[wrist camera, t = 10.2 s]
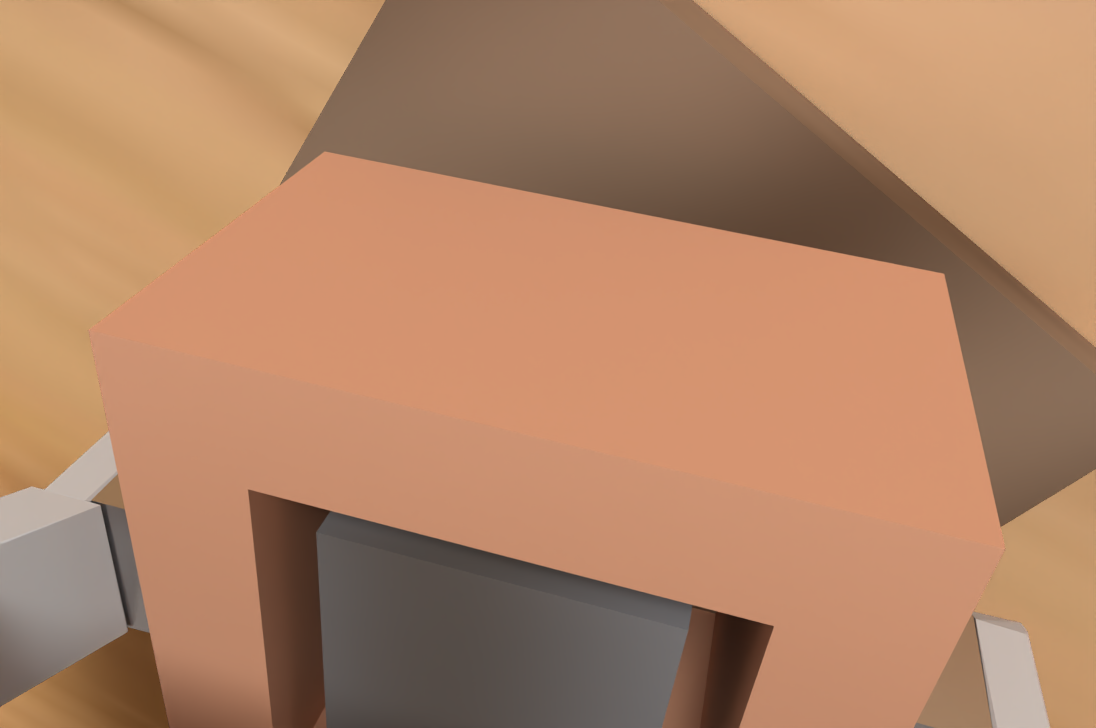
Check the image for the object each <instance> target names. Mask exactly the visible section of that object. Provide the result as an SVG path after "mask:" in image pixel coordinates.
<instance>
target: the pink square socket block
mask: <svg viewBox="0 0 1096 728" xmlns="http://www.w3.org/2000/svg"><path fill="white" fill-rule="evenodd" d="M88 331H89V335H90V340H91V345H92V350H93V355H94V360H95V365H96V370H97V375H98V380H99V385H100V390H101V394H102V399H103V404H104V409H105V414H106V419H107V424H108V429H109V434H110V439H111V444H112V449H113V453H114V458H115V463H116V468H117V473H118V478H119V483H120V488H121V493H122V498H123V503H124V508H125V512H126V517H127V522H128V527H129V532H130V537H131V542H132V547H133V552H134V557H135V562H136V567H137V571H138V576H139V581H140V586H141V591H142V596H143V601H144V606H145V611H146V616H147V621H148V626H149V630H150V635H151V640H152V645H153V650H154V655H155V660H156V665H157V670H158V675H159V680H160V685H161V689H162V694H163V699H164V704H165V709H166V714H167V719H168V724H169V728H327V727H326V708H325V689H324V670H323V651H322V632H321V613H320V594H319V575H318V556H317V538H316V532H317V530H318V529H319V527H320V526H321V524H322V523H323V521H324V520H325V518H326V517H327V515H328V514H329V512H330V511H333V512H337V513H341V514H345V515H349V516H353V517H356V518H360V519H364V520H368V521H372V522H376V523H379V524H383V525H387V526H391V527H395V528H399V529H403V530H406V531H410V532H414V533H418V534H422V535H426V536H429V537H433V538H437V539H441V540H445V541H449V542H453V543H456V544H460V545H464V546H468V547H472V548H476V549H479V550H483V551H487V552H491V553H495V554H499V555H502V556H506V557H510V558H514V559H518V560H522V561H526V562H529V563H533V564H537V565H541V566H545V567H549V568H552V569H556V570H560V571H564V572H568V573H572V574H575V575H579V576H583V577H587V578H591V579H595V580H599V581H602V582H606V583H610V584H614V585H618V586H622V587H625V588H629V589H633V590H637V591H641V592H645V593H649V594H652V595H656V596H660V597H664V598H668V599H672V600H675V601H679V602H683V603H687V604H691V605H695V606H698V607H702V608H706V609H710V610H714V611H716V614H715V613H711V612H708V611H704V610H700V609H696V608H692V611H691V617H690V623H689V630H688V634H687V637H686V641H685V645H684V648H683V652H682V656H681V659H680V663H679V667H678V670H677V674H676V678H675V681H674V685H673V689H672V692H671V696H670V700H669V703H668V707H667V711H666V714H665V718H664V722H663V725H662V728H914V726H915V724H916V722H917V720H918V718H919V716H920V714H921V712H922V710H923V709H924V707H925V705H926V703H927V701H928V699H929V697H930V695H931V693H932V691H933V689H934V687H935V685H936V683H937V681H938V679H939V677H940V675H941V674H942V672H943V670H944V668H945V666H946V664H947V662H948V660H949V658H950V656H951V654H952V652H953V650H954V648H955V646H956V644H957V642H958V640H959V638H960V637H961V635H962V633H963V631H964V629H965V627H966V625H967V623H968V621H969V619H970V617H971V615H972V613H973V611H974V609H975V607H976V605H977V603H978V601H979V600H980V598H981V596H982V594H983V592H984V590H985V588H986V586H987V584H988V582H989V580H990V578H991V576H992V574H993V572H994V570H995V568H996V566H997V564H998V563H999V561H1000V559H1001V557H1002V555H1003V553H1004V551H1005V545H1004V540H1003V536H1002V531H1001V527H1000V522H999V518H998V513H997V509H996V504H995V500H994V495H993V491H992V486H991V482H990V477H989V473H988V468H987V464H986V459H985V455H984V450H983V446H982V441H981V437H980V432H979V428H978V423H977V419H976V414H975V410H974V406H973V401H972V397H971V392H970V388H969V383H968V379H967V374H966V370H965V365H964V361H963V356H962V352H961V347H960V343H959V338H958V334H957V329H956V325H955V320H954V316H953V311H952V307H951V302H950V298H949V293H948V289H947V284H946V280H945V275H944V274H943V273H938V272H933V271H928V270H923V269H918V268H912V267H907V266H902V265H897V264H892V263H887V262H882V261H877V260H872V259H867V258H862V257H857V256H852V255H847V254H842V253H836V252H831V251H826V250H821V249H816V248H811V247H806V246H801V245H796V244H791V243H786V242H781V241H776V240H771V239H766V238H761V237H755V236H750V235H745V234H740V233H735V232H730V231H725V230H720V229H715V228H710V227H705V226H700V225H695V224H690V223H685V222H679V221H674V220H669V219H664V218H659V217H654V216H649V215H644V214H639V213H634V212H629V211H624V210H619V209H614V208H609V207H603V206H598V205H593V204H588V203H583V202H578V201H573V200H568V199H563V198H558V197H553V196H548V195H543V194H538V193H533V192H527V191H522V190H517V189H512V188H507V187H502V186H497V185H492V184H487V183H482V182H477V181H472V180H467V179H462V178H457V177H452V176H446V175H441V174H436V173H431V172H426V171H421V170H416V169H411V168H406V167H401V166H396V165H391V164H386V163H381V162H376V161H370V160H365V159H360V158H355V157H350V156H345V155H340V154H335V153H330V152H323V153H322V154H321V155H319V156H318V157H317V158H315V159H314V160H313V161H311V162H310V163H309V164H307V165H306V166H305V167H304V168H302V169H301V170H300V171H298V172H297V173H296V174H294V175H293V176H292V177H290V178H289V179H288V180H286V181H285V182H284V183H282V184H281V185H280V186H278V187H277V188H276V189H274V190H273V191H272V192H270V193H269V194H268V195H266V196H265V197H264V198H263V199H261V200H260V201H259V202H257V203H256V204H255V205H253V206H252V207H251V208H249V209H248V210H247V211H245V212H244V213H243V214H241V215H240V216H239V217H237V218H236V219H235V220H233V221H232V222H231V223H229V224H228V225H227V226H226V227H224V228H223V229H222V230H220V231H219V232H218V233H216V234H215V235H214V236H212V237H211V238H210V239H208V240H207V241H206V242H204V243H203V244H202V245H200V246H199V247H198V248H196V249H195V250H194V251H192V252H191V253H190V254H188V255H187V256H186V257H185V258H183V259H182V260H181V261H179V262H178V263H177V264H175V265H174V266H173V267H171V268H170V269H169V270H167V271H166V272H165V273H163V274H162V275H161V276H159V277H158V278H157V279H155V280H154V281H153V282H151V283H150V284H149V285H147V286H146V287H145V288H144V289H142V290H141V291H140V292H138V293H137V294H136V295H134V296H133V297H132V298H130V299H129V300H128V301H126V302H125V303H124V304H122V305H121V306H120V307H118V308H117V309H116V310H114V311H113V312H112V313H110V314H109V315H108V316H107V317H105V318H104V319H103V320H101V321H100V322H99V323H97V324H96V325H95V326H93V327H92V328H91V329H89V330H88Z"/></svg>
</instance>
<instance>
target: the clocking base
mask: <svg viewBox="0 0 1096 728" xmlns="http://www.w3.org/2000/svg"><path fill="white" fill-rule="evenodd" d="M323 152H330V153H335V154H340V155H345V156H350V157H355V158H360V159H365V160H370V161H376V162H381V163H386V164H391V165H396V166H401V167H406V168H411V169H416V170H421V171H426V172H431V173H436V174H441V175H446V176H452V177H457V178H462V179H467V180H472V181H477V182H482V183H487V184H492V185H497V186H502V187H507V188H512V189H517V190H522V191H527V192H533V193H538V194H543V195H548V196H553V197H558V198H563V199H568V200H573V201H578V202H583V203H588V204H593V205H598V206H603V207H609V208H614V209H619V210H624V211H629V212H634V213H639V214H644V215H649V216H654V217H659V218H664V219H669V220H674V221H679V222H685V223H690V224H695V225H700V226H705V227H710V228H715V229H720V230H725V231H730V232H735V233H740V234H745V235H750V236H755V237H761V238H766V239H771V240H776V241H781V242H786V243H791V244H796V245H801V246H806V247H811V248H816V249H821V250H826V251H831V252H836V253H842V254H847V255H852V256H857V257H862V258H867V259H872V260H877V261H882V262H887V263H892V264H897V265H902V266H907V267H912V268H918V269H923V270H928V271H933V272H938V273H943V274H944V275H945V280H946V284H947V289H948V293H949V298H950V302H951V307H952V311H953V316H954V320H955V325H956V329H957V334H958V338H959V343H960V347H961V352H962V356H963V361H964V365H965V370H966V374H967V379H968V383H969V388H970V392H971V397H972V401H973V406H974V410H975V414H976V419H977V423H978V428H979V432H980V437H981V441H982V446H983V450H984V455H985V459H986V464H987V468H988V473H989V477H990V482H991V486H992V491H993V495H994V500H995V504H996V509H997V513H998V518H999V522H1000V527H1001V526H1003V525H1005V524H1006V523H1008V522H1010V521H1011V520H1013V519H1015V518H1016V517H1018V516H1019V515H1021V514H1023V513H1024V512H1026V511H1028V510H1029V509H1031V508H1033V507H1034V506H1036V505H1037V504H1039V503H1041V502H1042V501H1044V500H1046V499H1047V498H1049V497H1051V496H1052V495H1054V494H1056V493H1057V492H1059V491H1060V490H1062V489H1064V488H1065V487H1067V486H1069V485H1070V484H1072V483H1074V482H1075V481H1077V480H1078V479H1080V478H1082V477H1083V476H1085V475H1087V474H1088V473H1090V472H1092V471H1093V470H1095V469H1096V348H1095V347H1094V346H1093V345H1092V344H1091V343H1090V342H1088V341H1087V340H1086V339H1085V338H1084V337H1083V336H1082V335H1080V334H1079V333H1078V332H1077V331H1076V330H1075V329H1073V328H1072V327H1071V326H1070V325H1069V324H1068V323H1066V322H1065V321H1064V320H1063V319H1062V318H1061V317H1059V316H1058V315H1057V314H1056V313H1055V312H1054V311H1052V310H1051V309H1050V308H1049V307H1048V306H1047V305H1046V304H1044V303H1043V302H1042V301H1041V300H1040V299H1039V298H1037V297H1036V296H1035V295H1034V294H1033V293H1032V292H1030V291H1029V290H1028V289H1027V288H1026V287H1025V286H1023V285H1022V284H1021V283H1020V282H1019V281H1018V280H1016V279H1015V278H1014V277H1013V276H1012V275H1011V274H1010V273H1008V272H1007V271H1006V270H1005V269H1004V268H1003V267H1001V266H1000V265H999V264H998V263H997V262H996V261H994V260H993V259H992V258H991V257H990V256H989V255H987V254H986V253H985V252H984V251H983V250H982V249H981V248H979V247H978V246H977V245H976V244H975V243H974V242H972V241H971V240H970V239H969V238H968V237H967V236H965V235H964V234H963V233H962V232H961V231H960V230H958V229H957V228H956V227H955V226H954V225H953V224H951V223H950V222H949V221H948V220H947V219H946V218H945V217H943V216H942V215H941V214H940V213H939V212H938V211H936V210H935V209H934V208H933V207H932V206H931V205H929V204H928V203H927V202H926V201H925V200H924V199H922V198H921V197H920V196H919V195H918V194H917V193H915V192H914V191H913V190H912V189H911V188H910V187H909V186H907V185H906V184H905V183H904V182H903V181H902V180H900V179H899V178H898V177H897V176H896V175H895V174H893V173H892V172H891V171H890V170H889V169H888V168H886V167H885V166H884V165H883V164H882V163H881V162H880V161H878V160H877V159H876V158H875V157H874V156H873V155H871V154H870V153H869V152H868V151H867V150H866V149H864V148H863V147H862V146H861V145H860V144H859V143H857V142H856V141H855V140H854V139H853V138H852V137H850V136H849V135H848V134H847V133H846V132H845V131H844V130H842V129H841V128H840V127H839V126H838V125H837V124H835V123H834V122H833V121H832V120H831V119H830V118H828V117H827V116H826V115H825V114H824V113H823V112H821V111H820V110H819V109H818V108H817V107H816V106H815V105H813V104H812V103H811V102H810V101H809V100H808V99H806V98H805V97H804V96H803V95H802V94H801V93H799V92H798V91H797V90H796V89H795V88H794V87H792V86H791V85H790V84H789V83H788V82H787V81H785V80H784V79H783V78H782V77H781V76H780V75H779V74H777V73H776V72H775V71H774V70H773V69H772V68H770V67H769V66H768V65H767V64H766V63H765V62H763V61H762V60H761V59H760V58H759V57H758V56H756V55H755V54H754V53H753V52H752V51H751V50H749V49H748V48H747V47H746V46H745V45H744V44H743V43H741V42H740V41H739V40H738V39H737V38H736V37H734V36H733V35H732V34H731V33H730V32H729V31H727V30H726V29H725V28H724V27H723V26H722V25H720V24H719V23H718V22H717V21H716V20H715V19H714V18H712V17H711V16H710V15H709V14H708V13H707V12H705V11H704V10H703V9H702V8H701V7H700V6H698V5H697V4H696V3H695V2H694V1H693V0H386V1H385V2H384V4H383V6H382V8H381V9H380V11H379V13H378V15H377V16H376V18H375V20H374V22H373V23H372V25H371V27H370V29H369V30H368V32H367V34H366V36H365V37H364V39H363V41H362V42H361V44H360V46H359V48H358V49H357V51H356V53H355V55H354V56H353V58H352V60H351V62H350V63H349V65H348V67H347V69H346V70H345V72H344V74H343V76H342V77H341V79H340V81H339V83H338V84H337V86H336V88H335V90H334V91H333V93H332V95H331V97H330V98H329V100H328V102H327V103H326V105H325V107H324V109H323V110H322V112H321V114H320V116H319V117H318V119H317V121H316V123H315V124H314V126H313V128H312V130H311V131H310V133H309V135H308V137H307V138H306V140H305V142H304V144H303V145H302V147H301V149H300V151H299V152H298V154H297V156H296V158H295V159H294V161H293V163H292V164H291V166H290V168H289V170H288V171H287V173H286V175H285V177H284V178H283V180H282V182H281V184H282V183H284V182H285V181H286V180H288V179H289V178H290V177H292V176H293V175H294V174H296V173H297V172H298V171H300V170H301V169H302V168H304V167H305V166H306V165H307V164H309V163H310V162H311V161H313V160H314V159H315V158H317V157H318V156H319V155H321V154H322V153H323ZM281 184H280V185H281ZM280 185H279V186H280ZM316 538H317V556H318V575H319V594H320V613H321V632H322V651H323V670H324V689H325V708H326V727H327V728H662V725H663V722H664V718H665V714H666V711H667V707H668V703H669V700H670V696H671V692H672V689H673V685H674V681H675V678H676V674H677V670H678V667H679V663H680V659H681V656H682V652H683V648H684V645H685V641H686V637H687V634H688V630H689V623H690V617H691V611H692V608H696V609H700V610H704V611H708V612H711V613H715V614H716V611H714V610H710V609H706V608H702V607H698V606H695V605H691V604H687V603H683V602H679V601H675V600H672V599H668V598H664V597H660V596H656V595H652V594H649V593H645V592H641V591H637V590H633V589H629V588H625V587H622V586H618V585H614V584H610V583H606V582H602V581H599V580H595V579H591V578H587V577H583V576H579V575H575V574H572V573H568V572H564V571H560V570H556V569H552V568H549V567H545V566H541V565H537V564H533V563H529V562H526V561H522V560H518V559H514V558H510V557H506V556H502V555H499V554H495V553H491V552H487V551H483V550H479V549H476V548H472V547H468V546H464V545H460V544H456V543H453V542H449V541H445V540H441V539H437V538H433V537H429V536H426V535H422V534H418V533H414V532H410V531H406V530H403V529H399V528H395V527H391V526H387V525H383V524H379V523H376V522H372V521H368V520H364V519H360V518H356V517H353V516H349V515H345V514H341V513H337V512H333V511H330V512H329V514H328V515H327V517H326V518H325V520H324V521H323V523H322V524H321V526H320V527H319V529H318V530H317V532H316Z"/></svg>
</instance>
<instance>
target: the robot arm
mask: <svg viewBox="0 0 1096 728" xmlns="http://www.w3.org/2000/svg"><path fill="white" fill-rule="evenodd" d="M128 627H129V628H133V629H137V630H141V631H145V632H149V633H150V630H149V626H148V621H147V616H146V611H145V606H144V601H143V596H142V591H141V586H140V581H139V576H138V571H137V567H136V562H135V557H134V552H133V547H132V542H131V537H130V532H129V527H128V522H127V517H126V512H125V508H124V503H123V498H122V493H121V488H120V483H119V478H118V473H117V468H116V463H115V458H114V453H113V449H112V444H111V439H110V434H109V431H108V432H107V433H106V434H105V435H104V436H103V437H102V438H100V439H99V440H98V441H97V442H96V443H95V444H94V445H93V446H92V447H91V448H89V449H88V450H87V451H86V452H85V453H84V454H83V455H82V456H81V457H80V458H78V459H77V460H76V461H75V462H74V463H73V464H72V465H71V466H70V467H69V468H67V469H66V470H65V471H64V472H63V473H62V474H61V475H60V476H59V477H58V478H56V479H55V480H54V481H53V482H52V483H51V484H50V485H49V486H48V487H47V488H45V489H44V490H43V489H39V488H35V487H29V488H26V489H23V490H21V491H18V492H15V493H12V494H9V495H6V496H3V497H0V706H2V705H4V704H6V703H7V702H9V701H11V700H12V699H14V698H16V697H17V696H19V695H21V694H23V693H24V692H26V691H28V690H29V689H31V688H33V687H35V686H36V685H38V684H40V683H41V682H43V681H45V680H47V679H48V678H50V677H52V676H53V675H55V674H57V673H58V672H60V671H62V670H64V669H65V668H67V667H69V666H70V665H72V664H74V663H76V662H77V661H79V660H81V659H82V658H84V657H86V656H88V655H89V654H91V653H93V652H94V651H96V650H98V649H99V648H101V647H103V646H105V645H106V644H108V643H110V642H111V641H113V640H115V639H117V638H118V637H120V636H122V635H123V634H125V633H127V632H128ZM914 728H1050V724H1049V719H1048V715H1047V711H1046V707H1045V702H1044V698H1043V694H1042V690H1041V686H1040V681H1039V677H1038V673H1037V669H1036V664H1035V660H1034V656H1033V652H1032V648H1031V643H1030V639H1029V635H1028V631H1027V630H1026V629H1025V628H1024V626H1023V625H1022V624H1021V623H1019V622H1015V621H1010V620H1006V619H1002V618H998V617H993V616H989V615H985V614H981V613H976V612H973V613H972V615H971V617H970V619H969V621H968V623H967V625H966V627H965V629H964V631H963V633H962V635H961V637H960V638H959V640H958V642H957V644H956V646H955V648H954V650H953V652H952V654H951V656H950V658H949V660H948V662H947V664H946V666H945V668H944V670H943V672H942V674H941V675H940V677H939V679H938V681H937V683H936V685H935V687H934V689H933V691H932V693H931V695H930V697H929V699H928V701H927V703H926V705H925V707H924V709H923V710H922V712H921V714H920V716H919V718H918V720H917V722H916V724H915V726H914Z"/></svg>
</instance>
